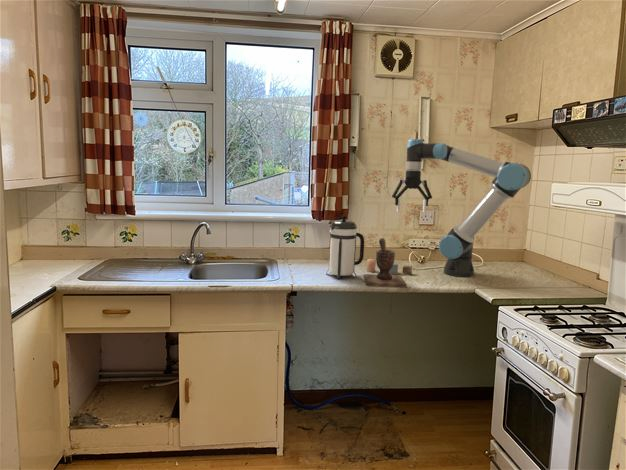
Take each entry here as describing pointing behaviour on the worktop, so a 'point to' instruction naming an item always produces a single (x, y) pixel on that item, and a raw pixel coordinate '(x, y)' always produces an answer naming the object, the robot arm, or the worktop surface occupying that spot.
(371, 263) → the terracotta capsule
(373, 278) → the walnut board
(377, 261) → the mortar and pestle
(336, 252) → the coffee press
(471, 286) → the worktop surface
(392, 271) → the slate grey cube
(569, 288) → the worktop surface
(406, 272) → the dark oak block
